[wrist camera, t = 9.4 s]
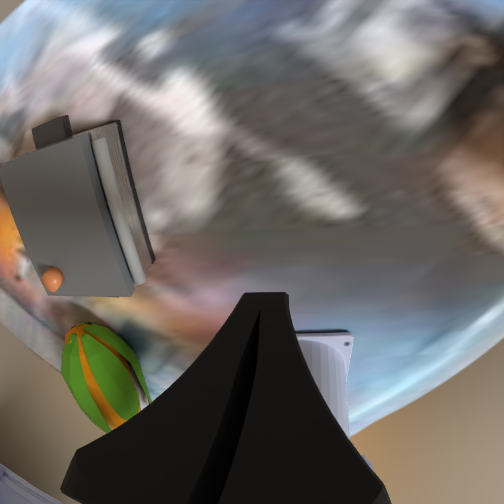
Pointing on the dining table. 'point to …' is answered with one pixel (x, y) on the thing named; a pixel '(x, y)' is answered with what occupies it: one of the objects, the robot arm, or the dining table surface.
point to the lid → (72, 219)
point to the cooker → (119, 158)
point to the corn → (101, 374)
